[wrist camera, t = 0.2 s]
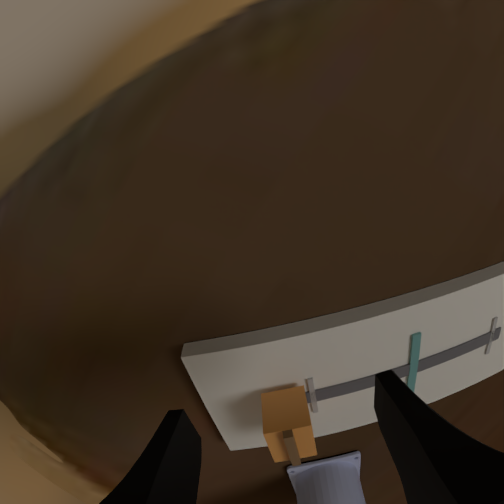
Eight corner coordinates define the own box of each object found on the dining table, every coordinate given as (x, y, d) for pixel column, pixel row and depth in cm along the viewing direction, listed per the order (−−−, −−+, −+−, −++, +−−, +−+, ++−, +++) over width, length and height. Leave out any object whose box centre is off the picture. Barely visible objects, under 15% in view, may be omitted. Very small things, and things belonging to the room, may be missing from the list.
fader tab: (310, 417, 22) (318, 461, 18) (272, 425, 22) (275, 469, 18) (303, 385, 21) (312, 432, 17) (260, 393, 21) (263, 441, 17)
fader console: (499, 358, 24) (507, 369, 22) (230, 437, 26) (230, 452, 24) (522, 254, 19) (535, 262, 18) (184, 343, 22) (180, 359, 20)
